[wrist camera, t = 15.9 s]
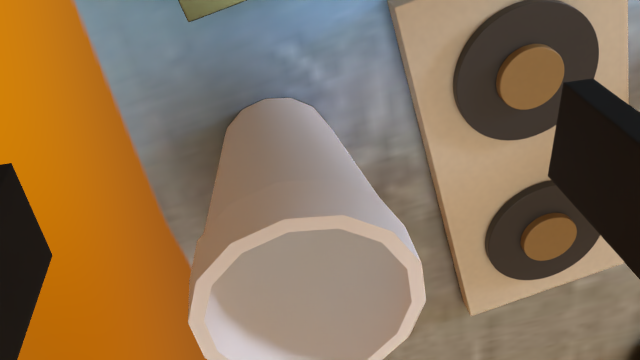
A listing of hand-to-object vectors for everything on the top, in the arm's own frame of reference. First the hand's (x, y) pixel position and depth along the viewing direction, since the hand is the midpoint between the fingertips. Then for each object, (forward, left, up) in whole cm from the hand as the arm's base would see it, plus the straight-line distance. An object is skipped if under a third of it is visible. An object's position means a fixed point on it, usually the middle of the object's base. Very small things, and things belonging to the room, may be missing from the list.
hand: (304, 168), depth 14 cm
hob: (+15, +12, -17) cm, 26 cm away
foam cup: (+9, -2, -18) cm, 20 cm away
